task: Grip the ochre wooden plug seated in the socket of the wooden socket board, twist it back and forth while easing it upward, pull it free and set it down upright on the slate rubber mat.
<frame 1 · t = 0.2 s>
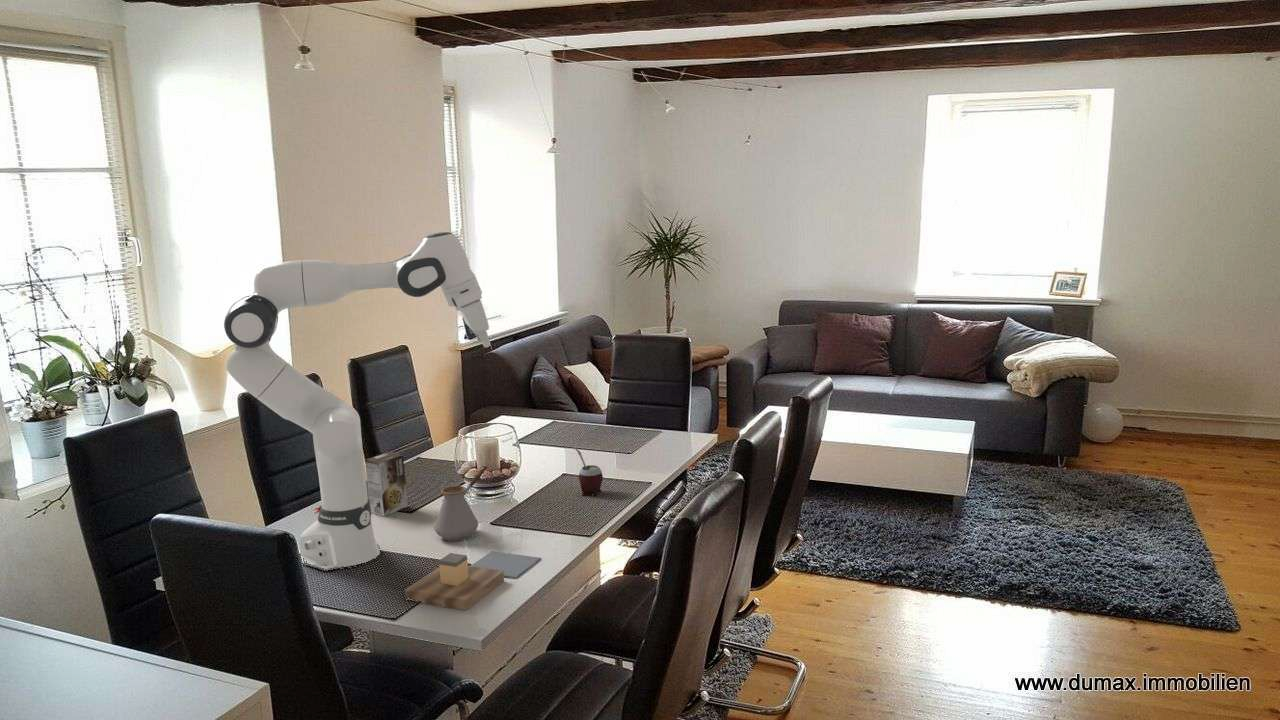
hand: (484, 343, 234), 52 cm above the table, tool tilted 20°, fingers open, 8 cm apart
coffee pot: (468, 529, 251), on the table
slate mat: (503, 565, 226), on the table
mate gourd: (590, 494, 276), on the table
coffee box: (389, 510, 268), on the table
plug: (454, 574, 212), in the wooden socket board
wooden socket board: (455, 590, 212), on the table
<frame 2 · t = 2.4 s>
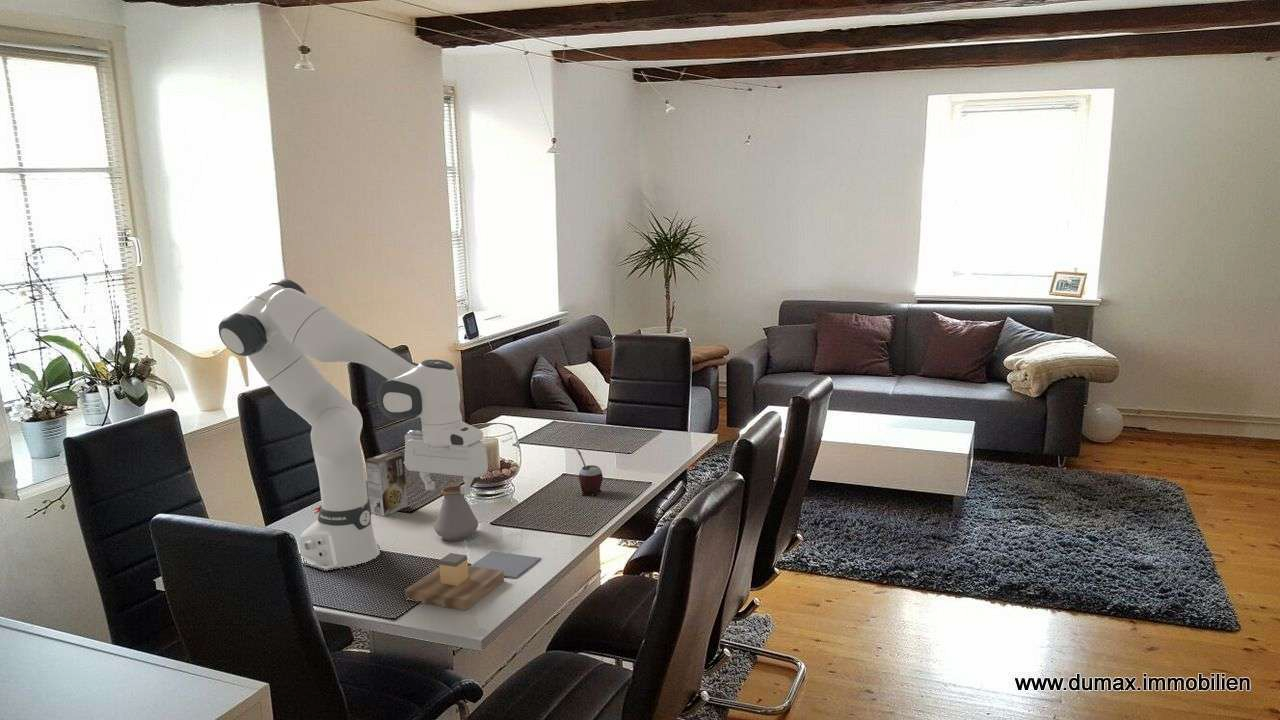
hand: (447, 491, 208), 24 cm above the table, tool pointing down, fingers open, 8 cm apart
nothing on the table moved.
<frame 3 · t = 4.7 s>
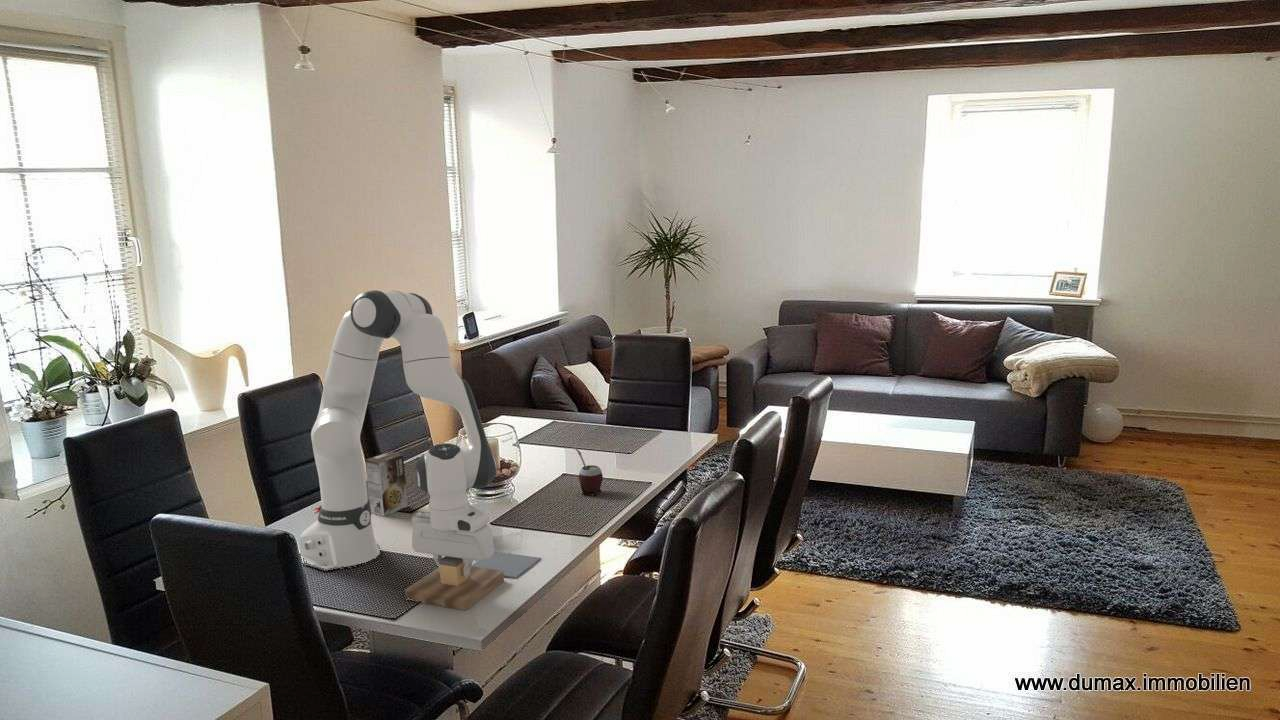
hand: (454, 573, 212), 4 cm above the table, tool pointing down, fingers closed on plug, 4 cm apart
plug: (454, 574, 212), in the wooden socket board, touching gripper
everything else where it was.
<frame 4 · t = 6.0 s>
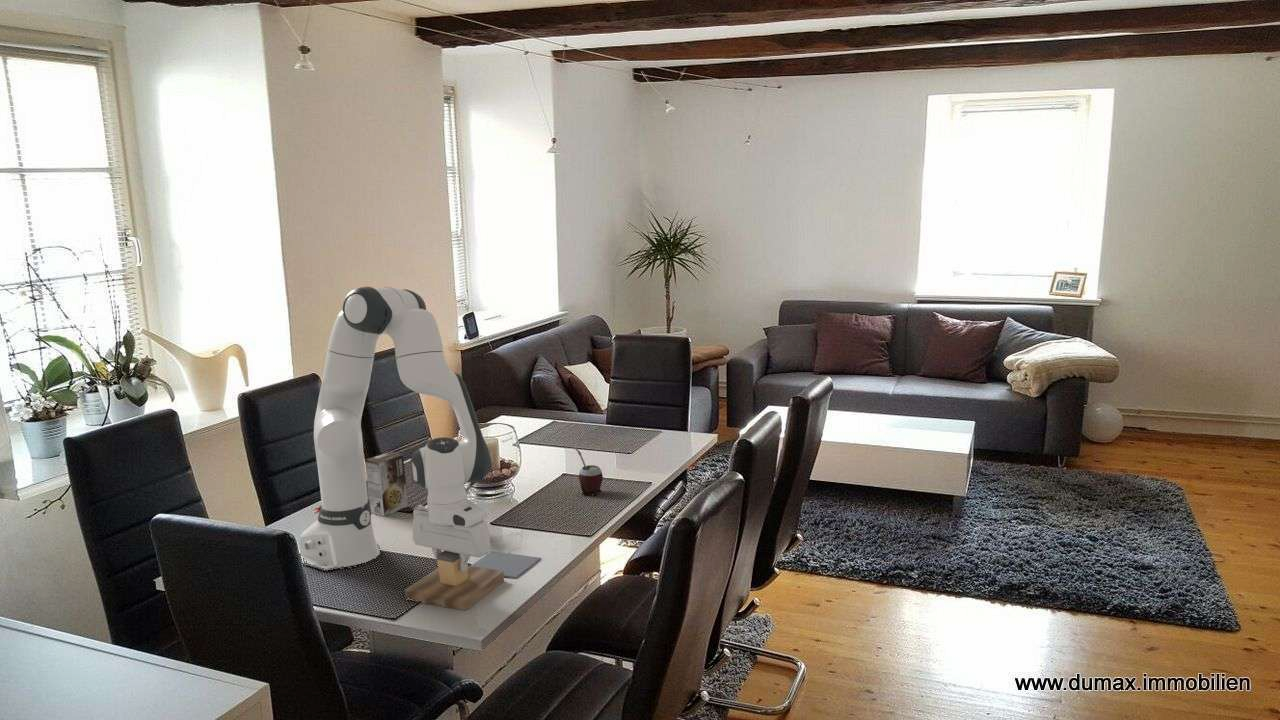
hand: (452, 568, 211), 6 cm above the table, tool pointing down, fingers closed on plug, 4 cm apart
plug: (453, 568, 211), point 5 cm above the table, touching gripper
everything else where it was.
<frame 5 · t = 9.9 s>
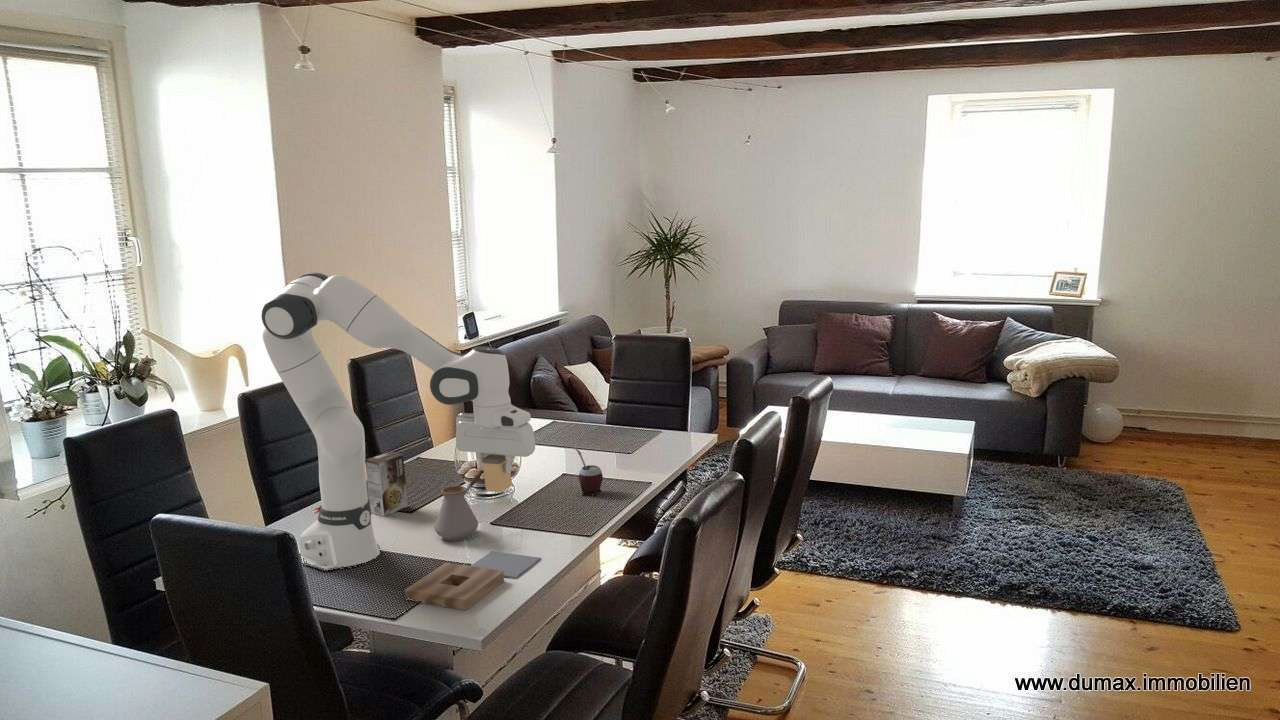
hand: (496, 470, 221), 24 cm above the table, tool pointing down, fingers closed on plug, 4 cm apart
plug: (497, 472, 221), point 24 cm above the table, touching gripper
everything else where it was.
when the fingers open (6 cm above the table, at t = 13.7 s): plug stays where it is, resting on slate mat.
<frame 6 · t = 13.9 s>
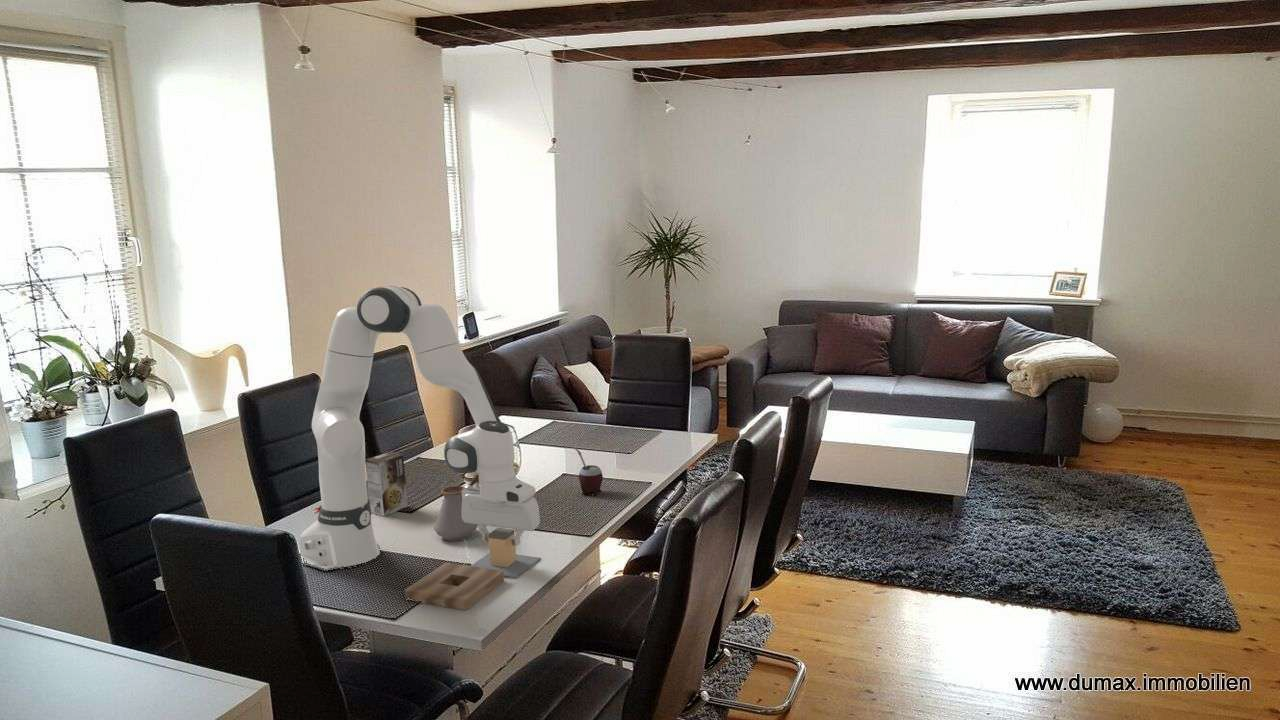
hand: (501, 543, 225), 6 cm above the table, tool pointing down, fingers open, 7 cm apart
plug: (502, 547, 225), on the slate mat
everything else where it was.
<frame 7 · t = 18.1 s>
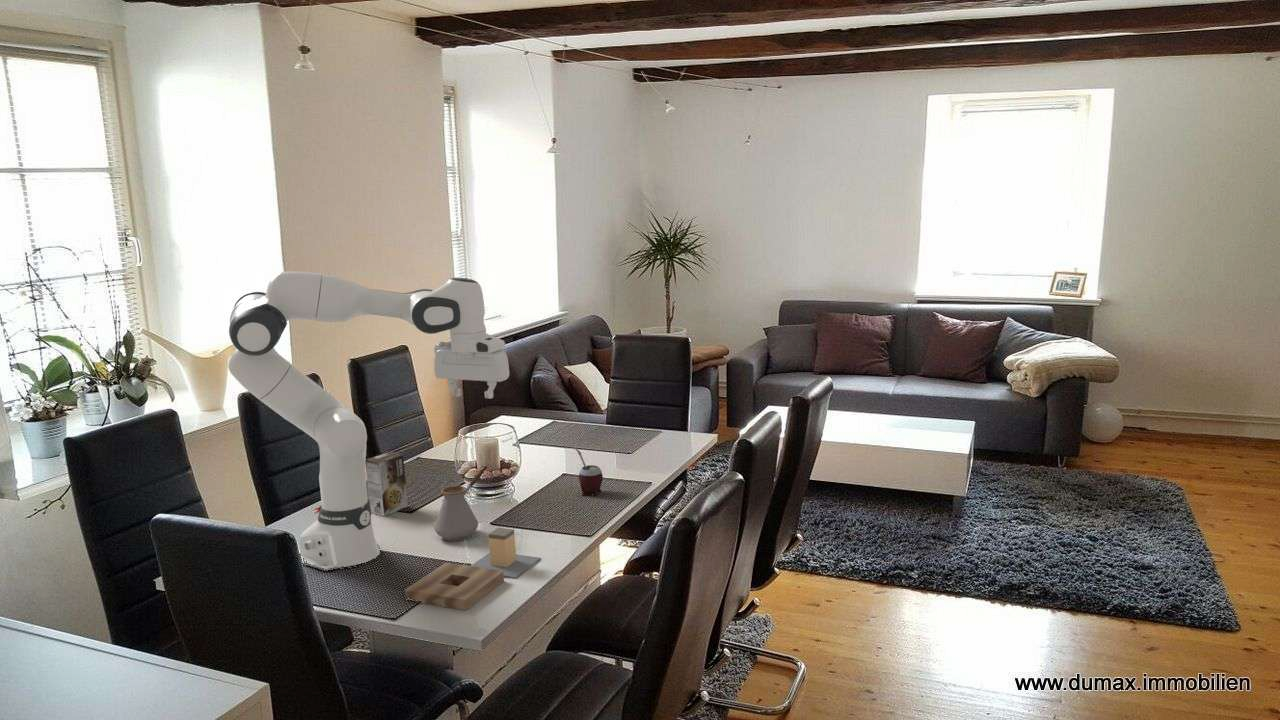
hand: (473, 397, 232), 39 cm above the table, tool pointing down, fingers open, 8 cm apart
nothing on the table moved.
at the end: plug inside the target area (0.6 cm from its centre), resting on slate mat; plug tilted 0°; plug touching slate mat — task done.
